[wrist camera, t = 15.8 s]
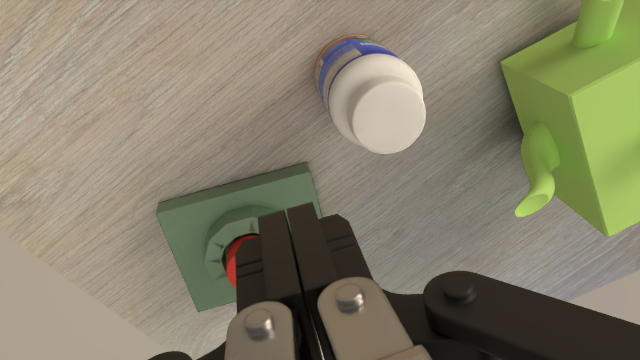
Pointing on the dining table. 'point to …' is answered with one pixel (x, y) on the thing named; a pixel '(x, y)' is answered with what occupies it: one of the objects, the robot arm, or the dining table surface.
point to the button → (231, 259)
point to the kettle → (583, 115)
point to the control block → (226, 226)
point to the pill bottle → (370, 94)
